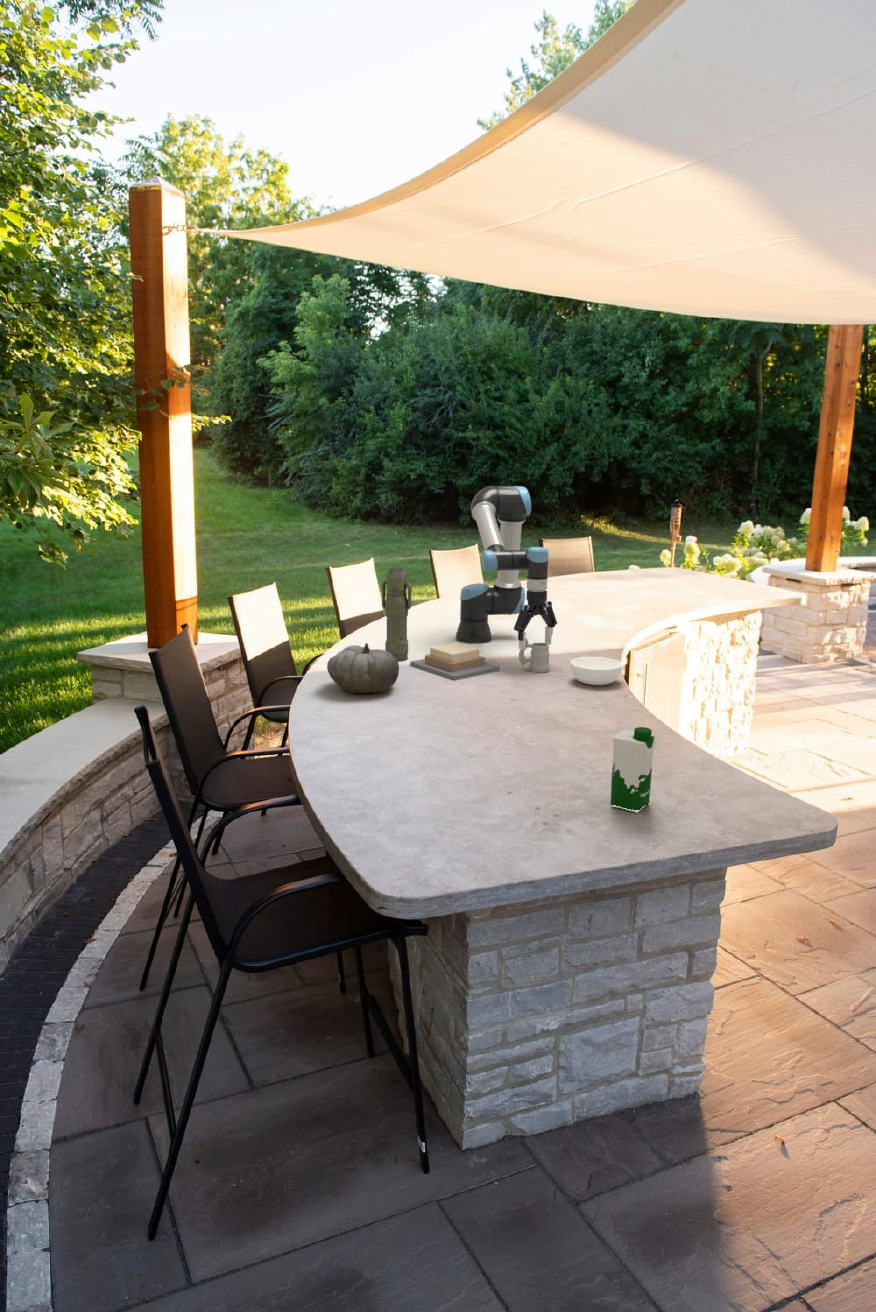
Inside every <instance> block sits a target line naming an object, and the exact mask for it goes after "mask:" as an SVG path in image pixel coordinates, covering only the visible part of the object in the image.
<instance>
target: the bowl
mask: <svg viewBox="0 0 876 1312" xmlns="http://www.w3.org/2000/svg"><path fill="white" fill-rule="evenodd" d="M570 669H571V671H572V672H573V675H574V677H575V679H576V680H577V681H579V682H581V683H583V684H586V685H588V686H589V685H590V686H605V685H606V686H607V685H609V684H613V683H614V682H615V681H617V679H618V678H619V675H620V674H621V672H622V670H623V662H621V661H620V660H618V659H614V658H610V657H603V656H581V657H575V658H573V659H572V660H570Z"/></svg>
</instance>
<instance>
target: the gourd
mask: <svg viewBox="0 0 876 1312" xmlns="http://www.w3.org/2000/svg"><path fill="white" fill-rule="evenodd" d="M399 665H400V664H399V662H398V661H397V660H396V658H395V657H394V656H393V655H392V654H391V653H389V652H387V651H385V649H379V648H376V649H371V648H370V647H369V643H368V642H365V645H364V646H360V645H357V644H356V645H355V644H354V645H348V646H346V647H345V648H343V649H342V650H340V651H339V652H337V654H335V655H334V656H331V657H330V658H329V659H328V661H327V665H326V668H327V672H328V674H329V677H330V678H331V680H332V681H334V683H335V684H336V685H337V686H339V687H340V688H341V689H342V690H344V691H346V692H348V693H351V694H359V693H362V694H367V693H371V694H374V693H376V694H377V693H379V694H380V693H382V692H384V691H387V690H388V689H391V687H393V686H394V684H395V683H396V682H397V680H398V677H399V673H400V666H399Z"/></svg>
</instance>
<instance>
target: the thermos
mask: <svg viewBox="0 0 876 1312" xmlns="http://www.w3.org/2000/svg"><path fill="white" fill-rule="evenodd" d="M412 590H413V586H412V585H411V583H410V582H408V581H407V574H406V571H405V570H404V569H403V568H391V569H389V570H388V572H387V575H386V580H384V581H383V582H382V584H381V605H382V608H384V611H385V612H384V613H385V614H384V615H385V616H386V640H385V645H384V646H385V648H384V651H387V652H389V653H391V654H392V655H393V656H394V657H395V658H396V660H397V661H398V663H399V662H405V661H408V660H409V657H408V655H409V641H408V616H409V610H411V608H412V595H413V593H412V592H413V591H412ZM386 591H387V593H386Z"/></svg>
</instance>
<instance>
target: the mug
mask: <svg viewBox="0 0 876 1312" xmlns="http://www.w3.org/2000/svg"><path fill="white" fill-rule="evenodd" d="M528 648H529V649H530V648H531V651H530V657H528V658H526V657H525V651H526V650H527V649H528ZM550 654H551V652H550V645H549V644H546V643H545V642H533V643H531V644H530V643H529V640H528V639H527V637H526V643H525V650H523V649H519V653H518V656H519V663H520V664H521V666H523V667H524V666H525V665H526V664H528V663H529V667H528V668H529V671H530V672H533V673H541V674H542V673H547V672H549V671H550V669H551V665H550Z"/></svg>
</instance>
